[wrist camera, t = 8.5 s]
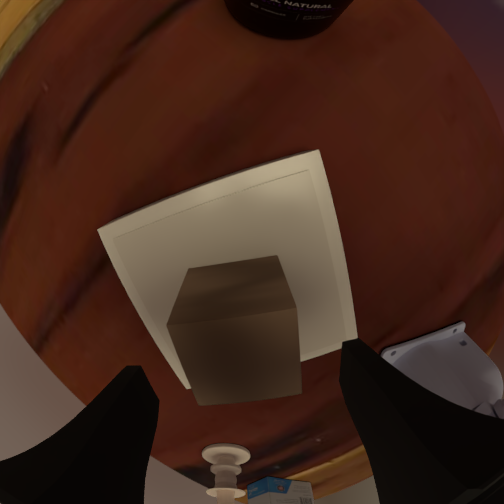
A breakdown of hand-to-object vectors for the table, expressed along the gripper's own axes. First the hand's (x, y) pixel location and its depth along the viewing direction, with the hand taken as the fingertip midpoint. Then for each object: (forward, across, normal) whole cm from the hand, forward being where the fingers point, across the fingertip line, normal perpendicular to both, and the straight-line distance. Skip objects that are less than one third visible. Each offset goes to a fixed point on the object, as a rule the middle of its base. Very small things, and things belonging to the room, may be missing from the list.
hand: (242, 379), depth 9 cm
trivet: (+8, 0, 0) cm, 8 cm away
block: (+6, 0, 0) cm, 6 cm away
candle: (+8, +5, +21) cm, 23 cm away
